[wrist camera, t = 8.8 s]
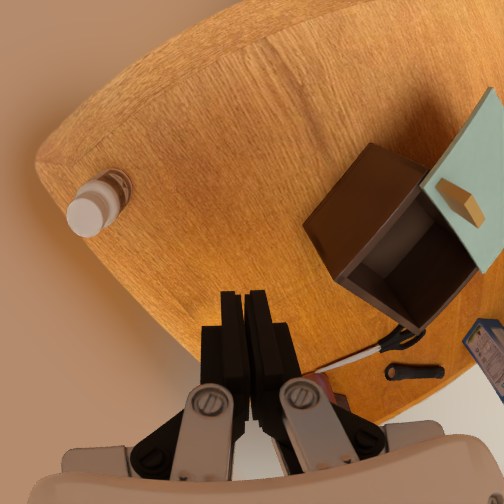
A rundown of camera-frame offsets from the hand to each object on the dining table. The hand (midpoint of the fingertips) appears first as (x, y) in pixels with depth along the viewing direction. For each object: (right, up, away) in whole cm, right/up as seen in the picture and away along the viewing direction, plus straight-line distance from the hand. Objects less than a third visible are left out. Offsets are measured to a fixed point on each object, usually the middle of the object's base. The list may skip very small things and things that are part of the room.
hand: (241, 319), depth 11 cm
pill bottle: (-14, +9, +16) cm, 23 cm away
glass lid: (+22, +8, +8) cm, 25 cm away
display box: (+15, +6, +21) cm, 26 cm away
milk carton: (+50, -14, +36) cm, 63 cm away
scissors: (+20, -13, +32) cm, 40 cm away
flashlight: (+33, -20, +38) cm, 54 cm away
